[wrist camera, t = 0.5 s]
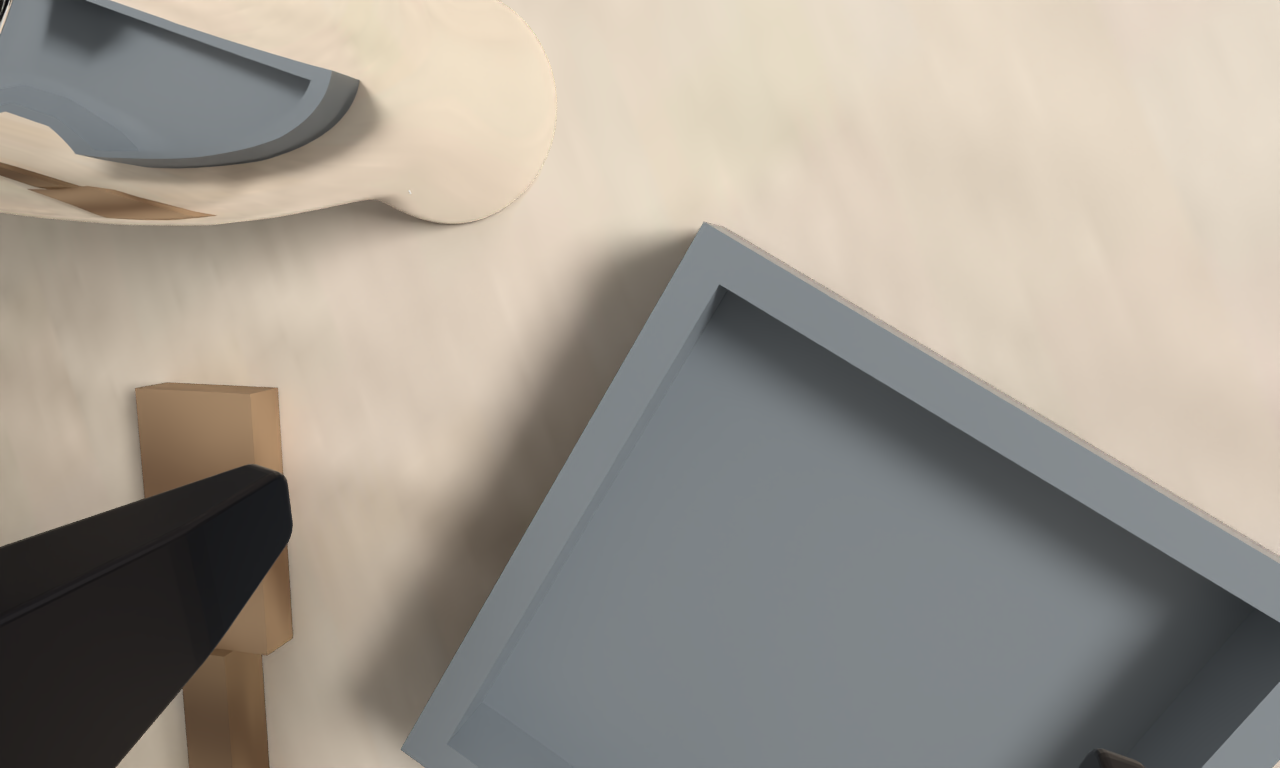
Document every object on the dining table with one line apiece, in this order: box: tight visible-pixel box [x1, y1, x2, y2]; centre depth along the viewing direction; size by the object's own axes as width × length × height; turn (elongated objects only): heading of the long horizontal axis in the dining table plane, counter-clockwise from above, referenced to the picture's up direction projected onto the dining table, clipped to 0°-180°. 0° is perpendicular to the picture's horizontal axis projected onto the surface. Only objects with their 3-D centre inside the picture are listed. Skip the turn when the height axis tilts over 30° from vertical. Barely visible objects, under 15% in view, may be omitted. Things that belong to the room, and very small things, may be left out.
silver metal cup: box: [0, 0, 557, 226], centre depth 15 cm, size 7×7×15 cm
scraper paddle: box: [135, 383, 293, 768], centre depth 26 cm, size 14×4×2 cm, turn 0°
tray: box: [401, 222, 1280, 768], centre depth 21 cm, size 16×16×3 cm
